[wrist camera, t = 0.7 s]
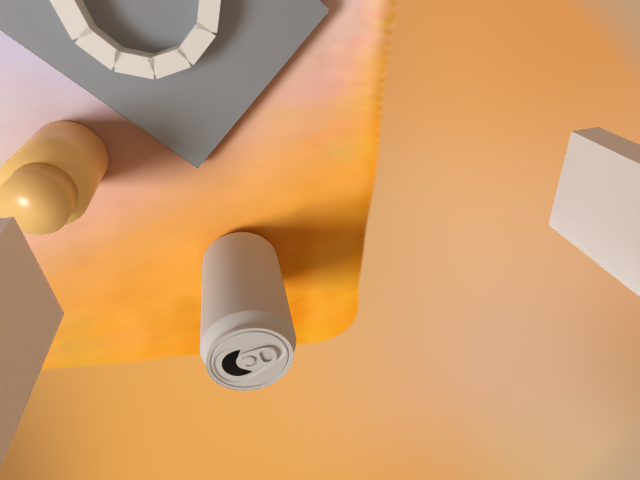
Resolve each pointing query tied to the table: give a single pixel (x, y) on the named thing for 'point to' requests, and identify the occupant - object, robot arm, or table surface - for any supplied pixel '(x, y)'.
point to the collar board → (184, 91)
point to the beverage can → (244, 313)
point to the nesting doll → (52, 177)
